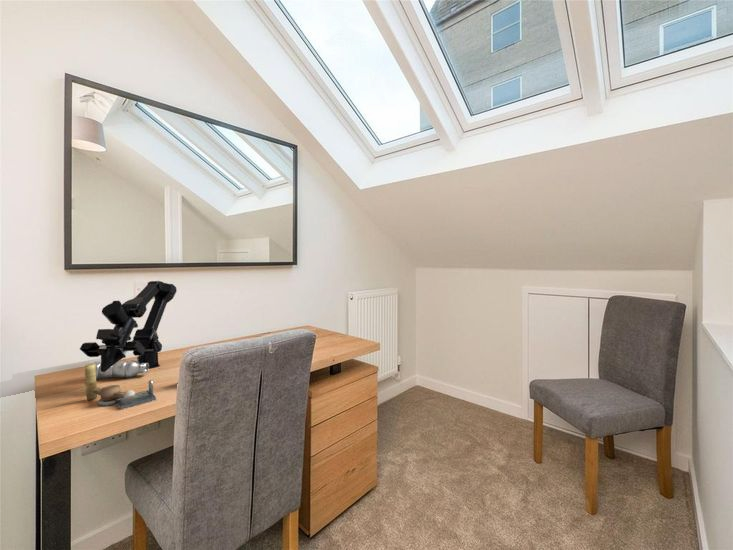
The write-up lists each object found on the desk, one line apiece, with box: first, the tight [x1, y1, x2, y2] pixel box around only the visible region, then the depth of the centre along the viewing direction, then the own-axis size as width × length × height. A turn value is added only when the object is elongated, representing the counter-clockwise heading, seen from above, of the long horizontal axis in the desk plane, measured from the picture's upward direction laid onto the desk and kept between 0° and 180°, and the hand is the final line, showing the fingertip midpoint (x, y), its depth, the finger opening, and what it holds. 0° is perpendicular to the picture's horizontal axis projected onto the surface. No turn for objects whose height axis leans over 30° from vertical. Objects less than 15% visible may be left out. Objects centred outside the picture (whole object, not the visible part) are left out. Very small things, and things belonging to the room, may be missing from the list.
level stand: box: [97, 380, 157, 410], centre depth 107 cm, size 14×12×5 cm
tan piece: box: [84, 363, 136, 401], centre depth 106 cm, size 18×5×11 cm, turn 75°
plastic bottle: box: [88, 359, 150, 381], centre depth 128 cm, size 6×7×20 cm
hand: (102, 371), depth 114 cm, fingers closed
